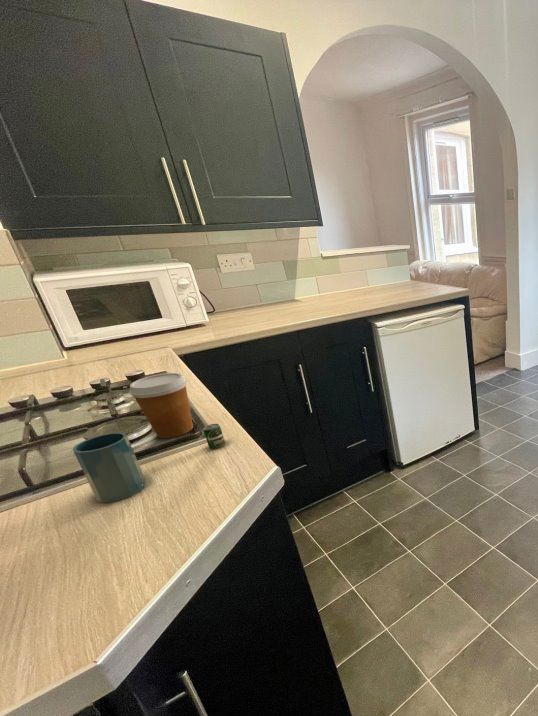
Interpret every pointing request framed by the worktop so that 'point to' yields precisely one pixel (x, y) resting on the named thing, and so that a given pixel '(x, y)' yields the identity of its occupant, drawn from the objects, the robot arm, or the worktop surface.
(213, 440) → the beer can
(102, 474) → the cup
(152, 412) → the disposable coffee cup
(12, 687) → the worktop surface
